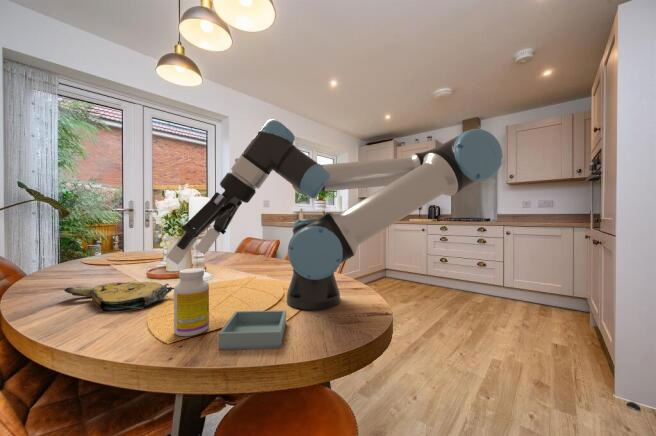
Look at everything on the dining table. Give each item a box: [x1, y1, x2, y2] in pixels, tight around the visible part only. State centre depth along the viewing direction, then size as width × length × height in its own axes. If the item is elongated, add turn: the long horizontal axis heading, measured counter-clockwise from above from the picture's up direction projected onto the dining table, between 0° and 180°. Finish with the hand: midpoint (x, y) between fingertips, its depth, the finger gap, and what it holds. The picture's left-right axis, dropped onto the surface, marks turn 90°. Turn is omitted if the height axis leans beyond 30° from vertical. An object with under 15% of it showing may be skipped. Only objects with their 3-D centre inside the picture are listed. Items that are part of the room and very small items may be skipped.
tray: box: [218, 310, 287, 351], centre depth 55 cm, size 11×11×3 cm
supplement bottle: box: [173, 267, 210, 337], centre depth 57 cm, size 7×7×13 cm
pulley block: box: [63, 281, 174, 313], centre depth 75 cm, size 14×6×30 cm
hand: (187, 255), depth 61 cm, fingers open, 13 cm apart
